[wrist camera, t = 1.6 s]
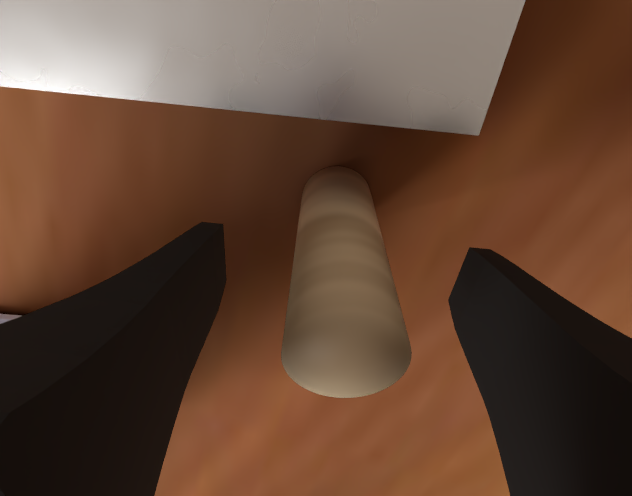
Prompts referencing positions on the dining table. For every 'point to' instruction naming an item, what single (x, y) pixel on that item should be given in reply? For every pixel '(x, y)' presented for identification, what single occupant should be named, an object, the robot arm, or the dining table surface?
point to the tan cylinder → (342, 294)
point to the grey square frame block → (270, 55)
